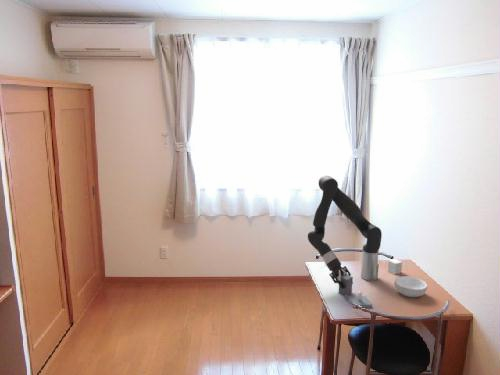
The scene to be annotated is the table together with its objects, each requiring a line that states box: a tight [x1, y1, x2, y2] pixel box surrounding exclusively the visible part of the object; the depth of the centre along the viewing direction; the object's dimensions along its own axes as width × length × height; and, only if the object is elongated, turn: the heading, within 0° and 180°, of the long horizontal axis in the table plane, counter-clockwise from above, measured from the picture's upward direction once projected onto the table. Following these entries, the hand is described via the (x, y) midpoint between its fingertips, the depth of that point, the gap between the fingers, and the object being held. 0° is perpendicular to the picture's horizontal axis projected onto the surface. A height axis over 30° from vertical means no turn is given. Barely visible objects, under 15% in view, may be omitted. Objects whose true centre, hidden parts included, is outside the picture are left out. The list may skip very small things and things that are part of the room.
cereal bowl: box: [394, 275, 428, 298], centre depth 223 cm, size 17×17×7 cm
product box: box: [387, 258, 403, 275], centre depth 254 cm, size 6×6×7 cm
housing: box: [338, 274, 354, 297], centre depth 223 cm, size 5×5×10 cm
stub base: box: [346, 291, 373, 309], centre depth 212 cm, size 10×10×6 cm
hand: (347, 286), depth 222 cm, fingers open, 7 cm apart
